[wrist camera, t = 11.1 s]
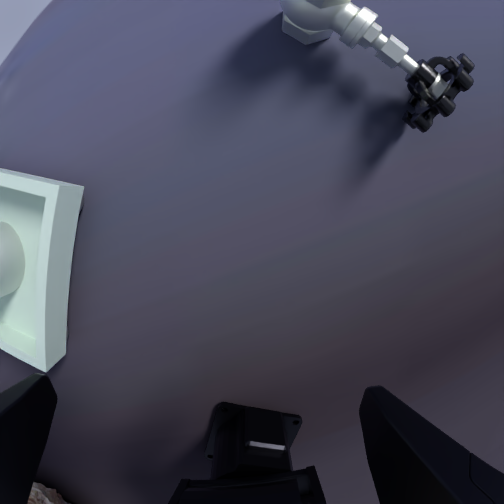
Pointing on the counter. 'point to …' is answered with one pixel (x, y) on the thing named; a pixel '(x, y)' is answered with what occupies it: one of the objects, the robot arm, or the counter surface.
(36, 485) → the mineral formation
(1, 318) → the shallow mint tray
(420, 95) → the valve
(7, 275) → the bottle
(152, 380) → the counter surface
